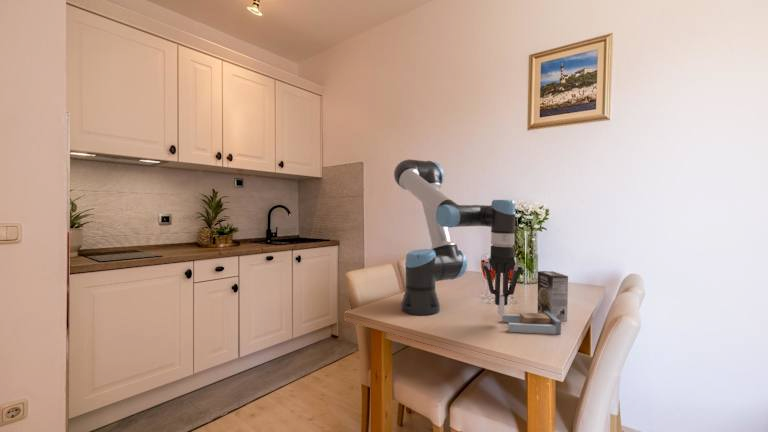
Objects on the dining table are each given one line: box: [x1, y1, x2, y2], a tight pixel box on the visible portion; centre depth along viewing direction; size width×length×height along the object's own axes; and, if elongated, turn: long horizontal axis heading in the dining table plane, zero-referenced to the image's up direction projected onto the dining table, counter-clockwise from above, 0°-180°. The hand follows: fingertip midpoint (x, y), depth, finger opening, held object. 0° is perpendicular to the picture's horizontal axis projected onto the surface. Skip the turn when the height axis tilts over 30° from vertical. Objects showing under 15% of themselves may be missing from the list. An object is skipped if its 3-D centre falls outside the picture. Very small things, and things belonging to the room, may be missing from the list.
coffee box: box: [537, 270, 569, 322], centre depth 118 cm, size 9×6×16 cm
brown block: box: [519, 312, 550, 324], centre depth 107 cm, size 8×5×4 cm, turn 84°
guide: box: [501, 311, 562, 335], centre depth 108 cm, size 16×10×4 cm
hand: (500, 314), depth 110 cm, fingers closed
